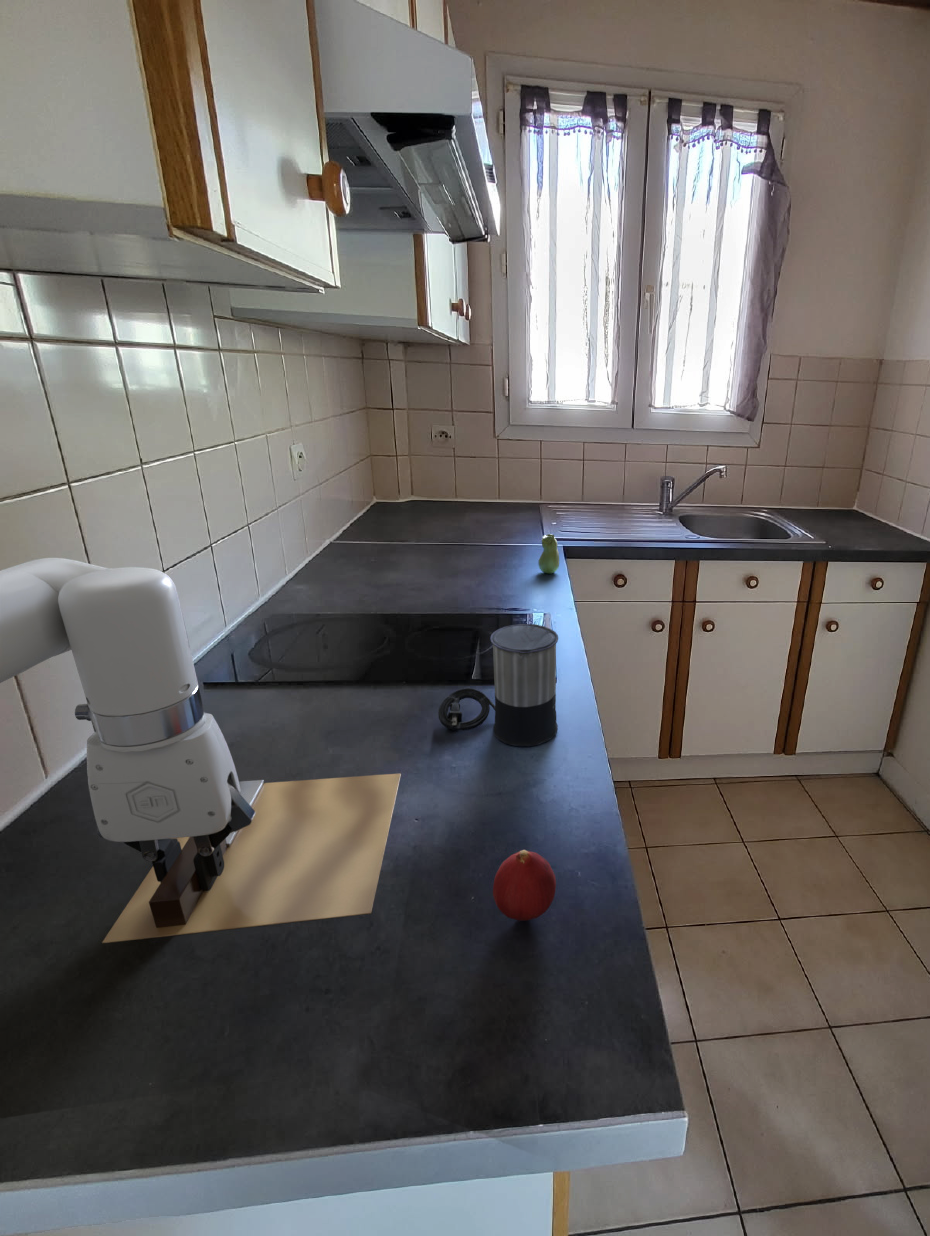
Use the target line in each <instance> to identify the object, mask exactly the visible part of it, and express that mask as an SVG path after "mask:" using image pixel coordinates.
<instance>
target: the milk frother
mask: <svg viewBox="0 0 930 1236" xmlns="http://www.w3.org/2000/svg"><path fill="white" fill-rule="evenodd" d="M489 639H490V642H491V644H492V654H493V655H492V656H493V658H492V659H493V679H494V682H493V683H494V703H493V702H492V700H491V699H490V698H489V697H488V696H487V695H486V694H485V693H483V692H482V691H480V690H478V689H476V688H471V687H466V688H460V689H457V690H455V691H454V692H452V693H450V694H449V695H448V696H446V698H444V700H443V701H442V702H441V703H440V705H439V708H438V720H439V721H440V723H441V725H442V726H444V727H445V728H447V729H450V730H454V731H469V730H473V729H476V728H478V727H480V726H481V725H482V724H484V723H485V721H486V720H487V719H488V717H489V714H490V709H491V708H490V707H492V709H493V710H494V724H493V728H492V729H493V730H492V731H493V735H494V736H495V737H496V739H498V741H500V742H502V743H504V744H506V745H508V746H509V745H510V746H515V747H533V746H538V745H541V744H544V743H546V742H548V741H550V740H552V739H553V738H554V737H555V736H556V734H557V733H558V730H559V729H558V728H559V727H558V726H559V725H558V723H557V710H556V702H557V693H556V691H557V690H556V689H557V643H558V642H559V635H558V633H557V632H556V631H555V630H553V629H552V628H549V627H547V626H545V625H539V624H536V623H529V624H528V623H518V624H511V625H505V626H503V627H500V628H498V629H497V630H495V631H494V632H492V634H491V635H490V637H489ZM465 699H471V700H474V701H476V702H477V703H478V704H480V707H481V711H480V713H479V714H478V715H477V716H476V717H473V719H471V720H467V721H463V720H462V719H463V712H462V711H461V704H460V701H462V700H465ZM449 710H450V711H449Z"/></svg>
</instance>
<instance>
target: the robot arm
mask: <svg viewBox="0 0 930 1236" xmlns="http://www.w3.org/2000/svg"><path fill="white" fill-rule="evenodd" d="M70 651H71V653H72V656H73V659H74V662H75V667H76V669H77V674H78V676H79V680H80V682H81V686H82V690H83V693H84V697H85V700H86V703H79V704H77V705H76V707H75V709H74V717H75V719H76V720H79V721H85V720H86V721H88V722H91V725H92V729H93V733H92V734H90V736H89V737H88V738H87V740H86V773H87V774H86V775H87V784H88V792H89V796H90V802H91V806H92V807H91V808H92V811H93V816H94V820H95V822H96V826H97V831H96V833H97V836H98V837H99V838H103V839H105V840H107V841H110V842H114V843H124V844H125V845H127V846H128V847H129V848H132V849H134V850H136V851H138V852H140V853H141V856H142V858H143V860H144V861H146V862H151V864H152V867H154V871H155V874H156V878H157V881H158V882H162V880H163V879H164V877H165V876H166V874H167V873H168V871H169V869H170V868H171V866H172V865H173V863H174V861H175V860H176V858H177V857H178V855H179V854H180V852H181V846H180V842H178V840H177V838H182V837H193V838H194V841H195V844H196V847H197V851H198V852H197V854H196V855H195V857H194V860H193V862H194V866H195V870H196V872H197V876H198V880H199V884H200V888H201V890H203V891H210V890H211V888H212V886H213V884H214V882H215V880H216V878H217V877H218V876H220V875H221V874H222V872H223V870H224V859H223V855H222V851H221V846H220V843H221V842H222V841H223V840H224V839H225V838H227V837H228V835H229V834H230V833H232V832H236V831H238V830H240V829H242V828H244V827H246V826H249V825H250V824H251V823H252V821H253V819H254V817H255V815H256V812H255V811H254V809H253V808H252V807H251V806H250V805H249V804H248V803H247V801H246V800H245V799H244V798H243V797H242V796H241V790H240V785H239V782H240V781H239V777H238V773H237V769H236V766H235V762H234V760H233V757H232V754H231V751H230V748H229V746H228V743H227V741H226V739H225V736H224V734H223V731H222V730H221V728H220V726H219V724H218V722H217V721H216V719H215V717H214V716H213V714H212V713H207V712H205V708H204V704H203V699H202V695H201V691H200V685H199V682H198V677H197V674H196V669H195V664H194V663H195V662H194V660H193V655H192V649H191V646H190V642H189V637H188V633H187V628H186V624H185V620H184V614H183V611H182V605H181V602H180V597H179V593H178V589H177V585H176V584H175V582H174V580H173V579H172V578H171V577H170V575H168V574H167V573H166V572H164V571H161V570H159V569H156V568H150V567H141V566H127V567H126V566H124V567H113V568H110V567H104V566H100V565H98V564H97V565H96V564H92V563H87V562H83V561H80V560H75V559H71V558H64V557H45V558H44V557H43V558H37V559H32V560H29V561H26V562H23V563H19V564H16V565H13V566H10V567H7V568H4V569H0V684H2V683H3V682H6V681H8V680H10V679H12V678H14V677H16V676H18V675H20V674H22V673H24V672H26V671H28V670H29V669H32V668H33V667H36V666H37V665H39V664H41V663H43V662H46V661H47V660H49V659H51V658H53V657H56V656H60V655H61V654H65V653H67V652H70ZM171 838H175V839H171Z"/></svg>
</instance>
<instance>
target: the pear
mask: <svg viewBox="0 0 930 1236" xmlns="http://www.w3.org/2000/svg"><path fill="white" fill-rule="evenodd" d="M558 544H559V543H558V541H557V539H556V537H555V534H552V533H548V534H544V535H542V539H541V547H542V550H543V551H541V552H542V553H541V555H540V557H539V559H538V562H537V565H538V568H539V570H540V571H541V572H542V573H545V574H554V573H555V572H556V571H557V572H558V569H559V567H560V552H559V550H558Z"/></svg>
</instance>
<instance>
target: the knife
mask: <svg viewBox="0 0 930 1236" xmlns="http://www.w3.org/2000/svg"><path fill="white" fill-rule="evenodd" d="M264 783H265V780H264V779H256V780H242V781H239V785H240V790H241V796H242V797H243V798H244V799H245V800H246V801H247V803H248V804H249V805H250V806H252V804H253V802H254V800H255V799H256V797H257V795H258V793H259V791H260V789H261V787H262V786H263V784H264ZM237 832H238V831H236V832H232V833H230V834H229V835H228V837H227V838H225V839H224V840H223V841H222V842H221V843H220V846H221V851H222V855H224V853H225V851H226V849H227V847H228V846H230V845H231V843H232V842H233V840H234V838H235V836H236V834H237ZM197 852H198V851H197V847H196V844H195V841H194V838H193V837H189V839H188V841H187V842H186V844H185V845H184V847H183V849H182V850H181V852H180V854H179V855H178V857H177V858H176V860H175V861H174V863H173V865H172V866H171V868H170V869H169V871H168V873H167V874H166V876H165V877H164V879H163V880H162V882H161V883H160V885H159V887H158V888H157V890H156V891H155V893H154V895H153V896H152V898H151V899H150V901H149V905H150V908H151V912H152V915H153V918H154V922H155V925H156V928H160V927H169V926H178V925H186V923H187V922H188V920H189V918H190V916H191V914H192V912H193V910H194V909H195V907H196V905H197V903H198V901H199V899H200V897H201V896H202V894H203V892H204V891H203V890H201V888H200V884H199V880H198V876H197V872H196V870H195V866H194V862H193V860H194V857H195V855H196V854H197Z"/></svg>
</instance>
